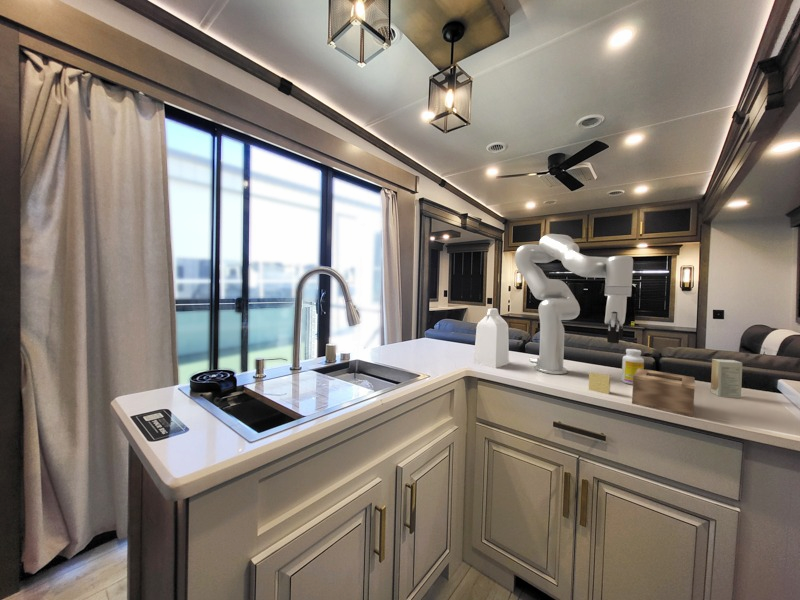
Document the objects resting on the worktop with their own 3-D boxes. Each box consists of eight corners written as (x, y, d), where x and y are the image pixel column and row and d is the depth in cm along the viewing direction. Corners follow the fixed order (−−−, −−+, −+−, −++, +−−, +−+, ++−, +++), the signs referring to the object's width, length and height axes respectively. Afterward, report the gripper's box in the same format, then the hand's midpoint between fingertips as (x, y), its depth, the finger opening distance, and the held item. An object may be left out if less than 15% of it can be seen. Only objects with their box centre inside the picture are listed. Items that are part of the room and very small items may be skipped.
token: (588, 389, 109) (589, 373, 109) (590, 388, 111) (591, 371, 111) (608, 394, 105) (609, 377, 105) (610, 392, 107) (610, 375, 107)
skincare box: (732, 394, 106) (735, 359, 106) (741, 398, 102) (744, 362, 102) (709, 392, 109) (711, 358, 108) (717, 396, 104) (719, 361, 104)
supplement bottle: (646, 386, 114) (648, 352, 113) (626, 385, 115) (628, 351, 114) (636, 380, 120) (638, 348, 120) (617, 379, 122) (619, 347, 121)
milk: (487, 359, 153) (488, 307, 151) (508, 363, 144) (510, 309, 143) (473, 363, 145) (475, 308, 143) (495, 368, 136) (497, 310, 135)
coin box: (631, 403, 97) (633, 375, 96) (636, 393, 106) (638, 368, 105) (692, 417, 87) (694, 386, 87) (692, 405, 96) (694, 377, 95)
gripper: (608, 291, 114) (606, 336, 115) (600, 291, 101) (597, 342, 102) (633, 292, 109) (630, 339, 110) (628, 292, 96) (625, 346, 97)
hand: (615, 340), depth 106 cm, fingers open, 9 cm apart
